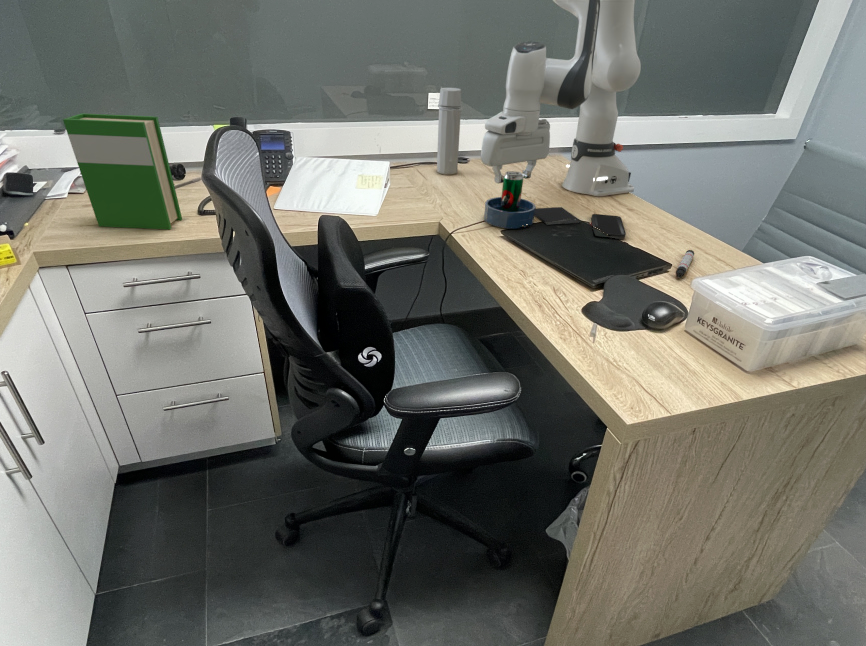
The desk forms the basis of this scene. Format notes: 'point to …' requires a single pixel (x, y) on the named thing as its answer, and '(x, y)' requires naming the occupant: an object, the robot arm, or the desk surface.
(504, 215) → the dish
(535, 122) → the robot arm
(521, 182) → the soda can
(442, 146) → the water bottle
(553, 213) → the black flat square pad
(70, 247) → the desk surface
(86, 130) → the hardback book
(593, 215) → the phone
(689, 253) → the marker
